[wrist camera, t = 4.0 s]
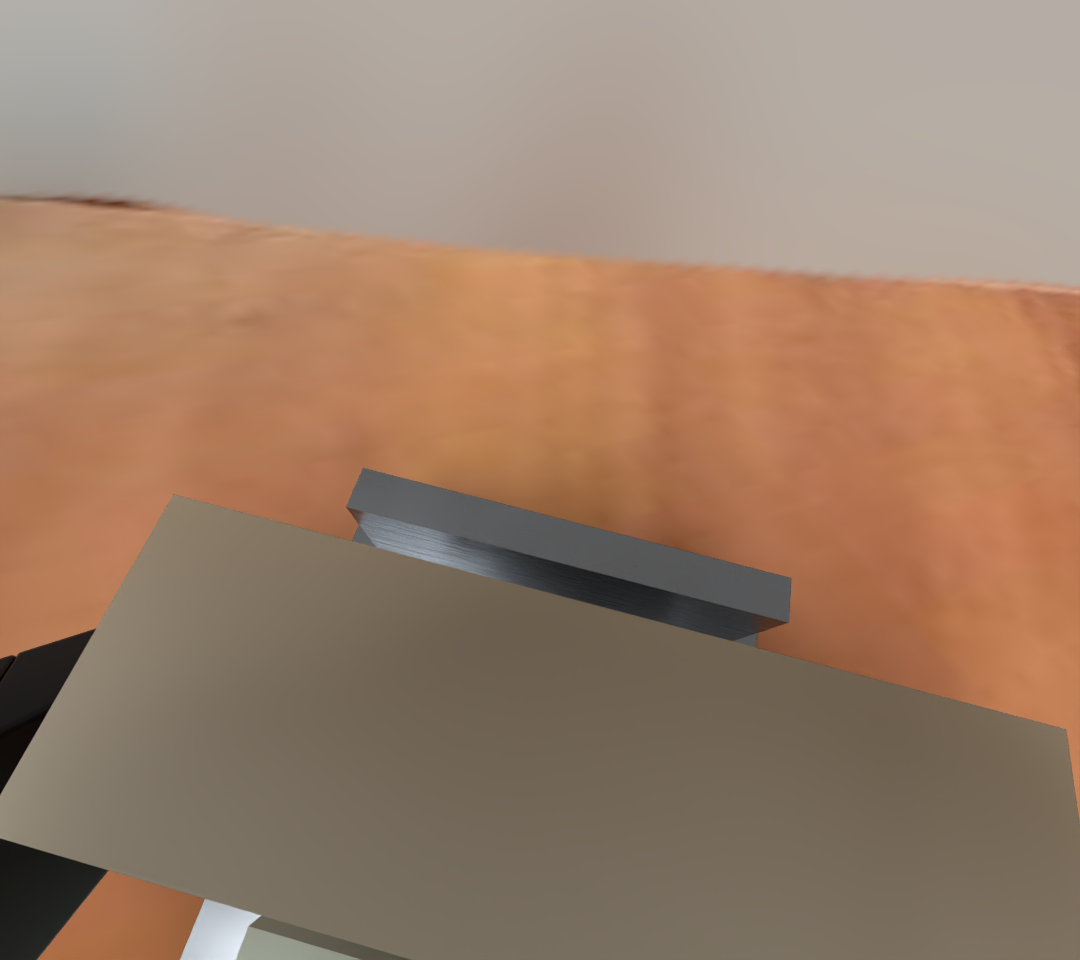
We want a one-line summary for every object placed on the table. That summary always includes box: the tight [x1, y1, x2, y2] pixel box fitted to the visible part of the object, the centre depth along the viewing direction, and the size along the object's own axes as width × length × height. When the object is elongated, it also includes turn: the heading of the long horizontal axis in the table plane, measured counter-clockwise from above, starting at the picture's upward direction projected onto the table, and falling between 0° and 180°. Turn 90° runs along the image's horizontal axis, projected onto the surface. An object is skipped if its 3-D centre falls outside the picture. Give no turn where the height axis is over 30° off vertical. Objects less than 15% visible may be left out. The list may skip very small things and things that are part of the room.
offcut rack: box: [180, 468, 791, 960], centre depth 11 cm, size 17×12×5 cm
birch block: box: [0, 494, 1080, 960], centre depth 9 cm, size 2×6×12 cm, turn 76°
